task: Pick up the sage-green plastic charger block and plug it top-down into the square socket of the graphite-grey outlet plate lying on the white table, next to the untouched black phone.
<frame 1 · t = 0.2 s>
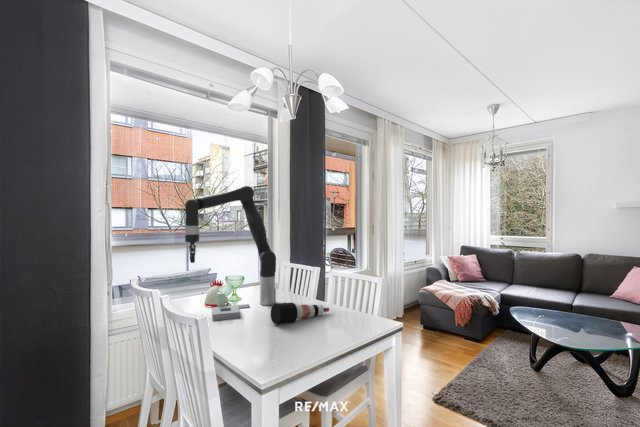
hand: (192, 261, 180), 28 cm above the table, fingers open, 8 cm apart
bottle: (302, 319, 166), on the table
kitchen timer: (216, 304, 195), on the table
charger: (220, 309, 182), on the table
phone: (238, 308, 188), on the table
outlet plate: (225, 315, 173), on the table
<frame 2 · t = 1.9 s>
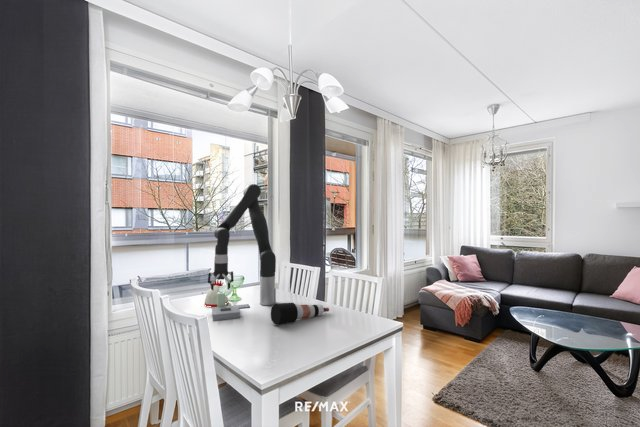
hand: (220, 289, 183), 12 cm above the table, fingers open, 8 cm apart
nothing on the table moved.
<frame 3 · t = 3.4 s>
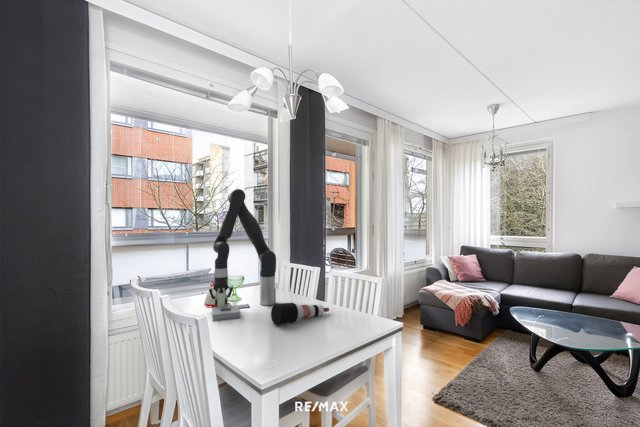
hand: (220, 305, 182), 3 cm above the table, fingers closed on charger, 4 cm apart
charger: (220, 309, 182), on the table, touching gripper
everything else where it was.
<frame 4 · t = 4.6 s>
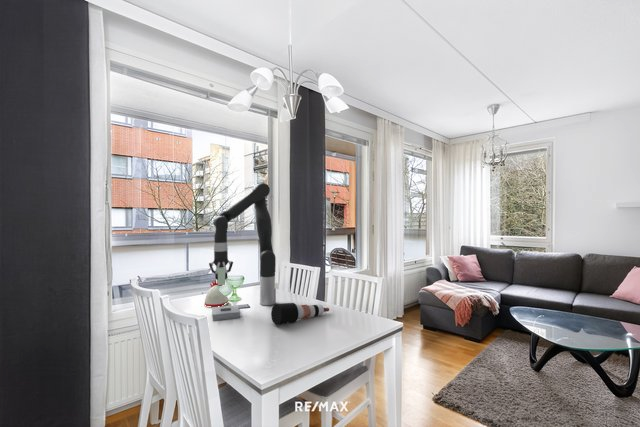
hand: (221, 279, 182), 18 cm above the table, fingers closed on charger, 4 cm apart
charger: (221, 284, 182), point 15 cm above the table, touching gripper
everything else where it was.
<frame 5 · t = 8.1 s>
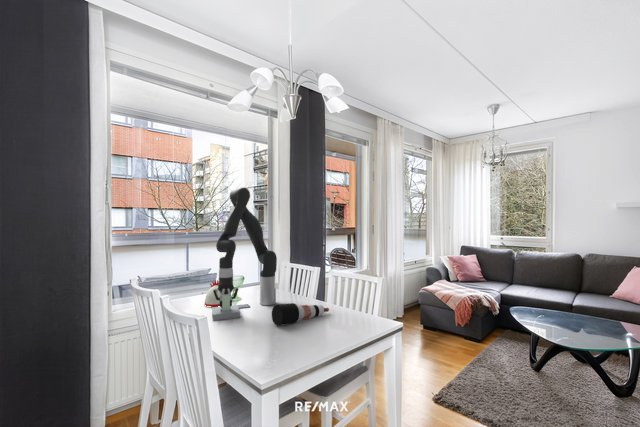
hand: (225, 306, 173), 5 cm above the table, fingers closed on charger, 4 cm apart
charger: (225, 311, 173), point 2 cm above the table, touching gripper
everything else where it was.
when the fingers open (5 cm above the table, at t = 8.2 s): charger drops 2 cm, resting on outlet plate.
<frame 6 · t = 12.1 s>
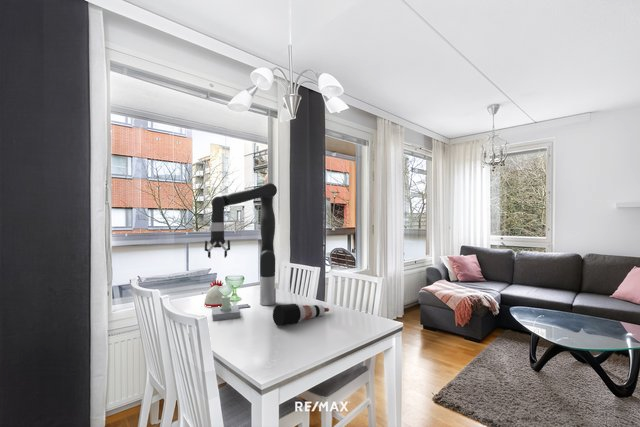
hand: (217, 257, 184), 30 cm above the table, fingers open, 8 cm apart
charger: (225, 314, 173), resting on outlet plate
at the end: charger 0.1 cm off-centre on the outlet plate, point 0.2 cm above the outlet plate's base; charger tilted 0°; the gripper is holding nothing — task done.
